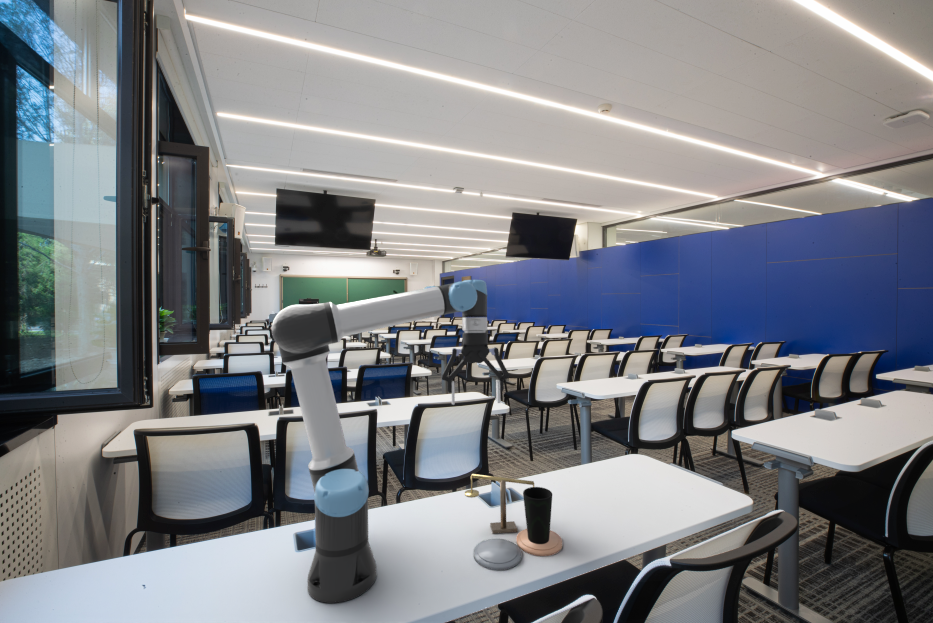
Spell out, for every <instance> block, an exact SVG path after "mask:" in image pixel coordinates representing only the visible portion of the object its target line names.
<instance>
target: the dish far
mask: <svg viewBox="0 0 933 623" xmlns="http://www.w3.org/2000/svg"><path fill="white" fill-rule="evenodd" d="M516 545H518V546H519V548H520V549H521V552H524V553H526V554H528V555H531V556H536V557H549V556H550V557H551V556H554V555H557V554H558V553H559V552H561V550H562V549H563V538H562V537H561V535H560V534H559V533H557V532H556V531H554V530H552V529H550V536H549V541H548V542H547V543H545V544H535V543H532V542H530V541H529V539H528V533H527V528H525V529H522V530H521V531H519V532H517V535H516Z"/></svg>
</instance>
